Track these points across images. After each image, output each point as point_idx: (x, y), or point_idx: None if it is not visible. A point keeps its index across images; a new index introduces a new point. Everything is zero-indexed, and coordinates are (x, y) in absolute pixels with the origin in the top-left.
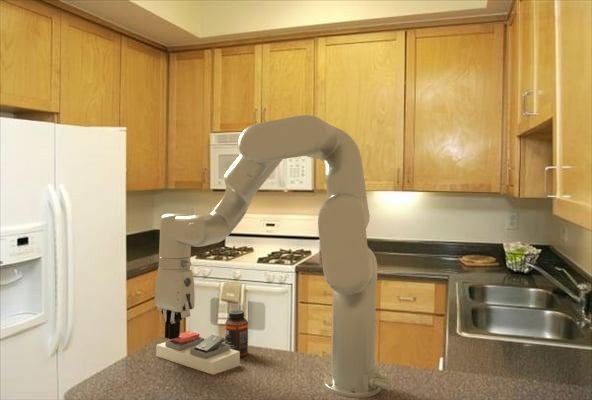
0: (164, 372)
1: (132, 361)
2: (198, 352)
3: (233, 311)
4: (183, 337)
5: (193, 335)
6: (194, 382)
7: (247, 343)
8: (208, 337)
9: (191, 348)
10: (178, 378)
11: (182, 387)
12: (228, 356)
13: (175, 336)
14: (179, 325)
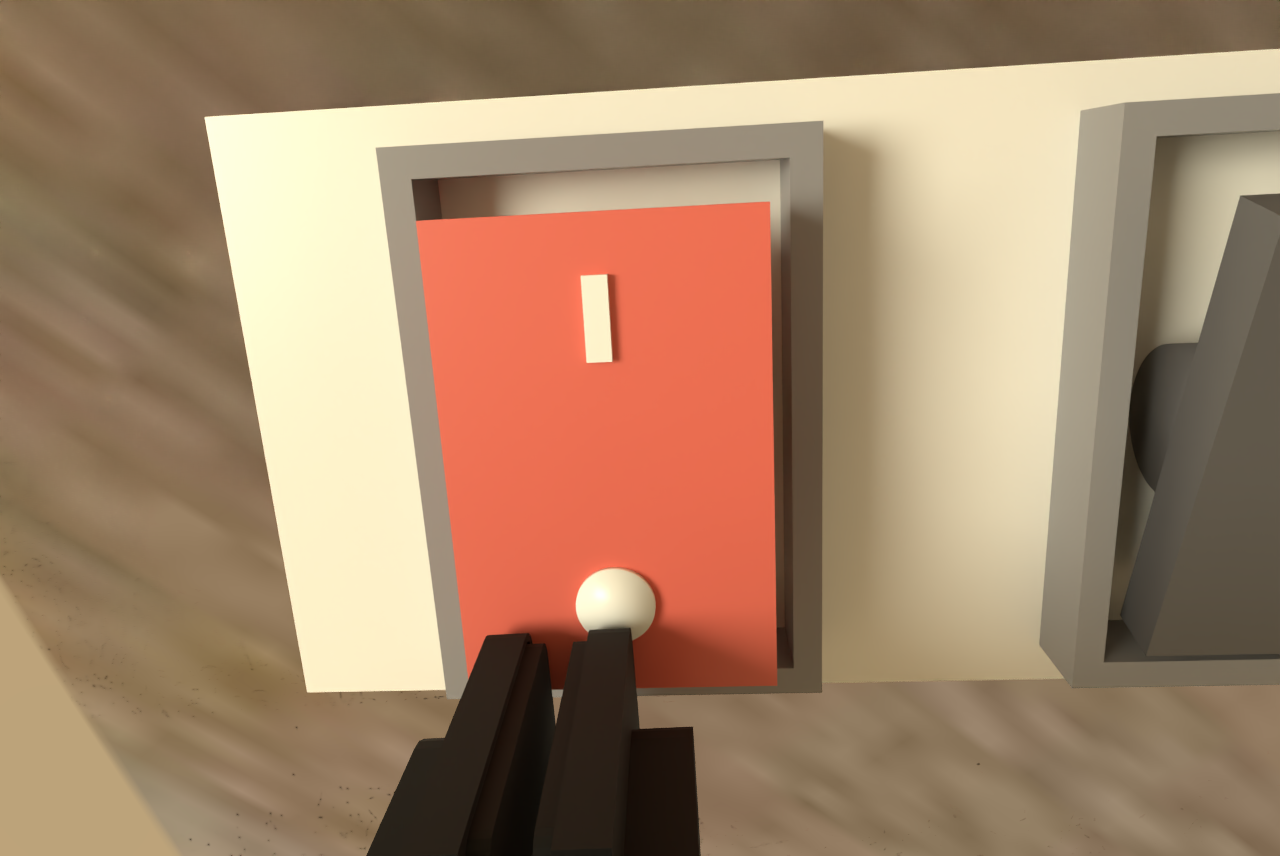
0: (760, 729)
1: (222, 745)
2: (1269, 672)
3: None
4: (717, 590)
5: (761, 372)
6: (1243, 710)
7: None
8: (1247, 340)
9: (865, 476)
10: (1014, 741)
11: (1218, 846)
12: None
13: (635, 726)
14: (696, 847)
